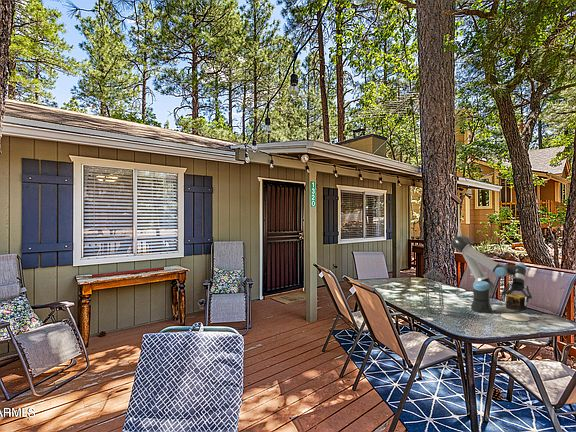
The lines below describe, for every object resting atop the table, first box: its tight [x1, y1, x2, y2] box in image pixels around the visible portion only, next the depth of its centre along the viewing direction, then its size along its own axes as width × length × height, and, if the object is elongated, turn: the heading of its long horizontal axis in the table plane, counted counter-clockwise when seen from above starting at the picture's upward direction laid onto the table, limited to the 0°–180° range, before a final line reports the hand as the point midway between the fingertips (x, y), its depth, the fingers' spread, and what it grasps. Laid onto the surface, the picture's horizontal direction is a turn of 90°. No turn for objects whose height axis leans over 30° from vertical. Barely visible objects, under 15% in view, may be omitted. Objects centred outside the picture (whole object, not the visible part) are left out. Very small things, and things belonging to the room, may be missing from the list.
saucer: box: [500, 312, 531, 322], centre depth 250 cm, size 18×18×1 cm
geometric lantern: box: [423, 268, 445, 315], centre depth 267 cm, size 16×16×35 cm
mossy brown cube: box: [505, 293, 528, 312], centre depth 249 cm, size 10×10×10 cm
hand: (515, 303), depth 247 cm, fingers closed on mossy brown cube, 12 cm apart
